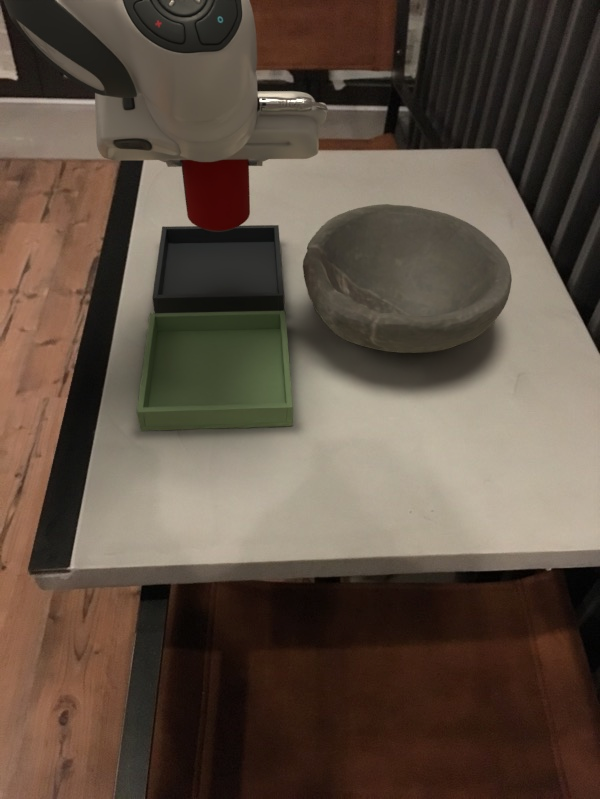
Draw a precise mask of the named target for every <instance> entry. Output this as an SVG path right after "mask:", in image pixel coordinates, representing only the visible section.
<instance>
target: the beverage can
mask: <svg viewBox="0 0 600 799" xmlns="http://www.w3.org/2000/svg"><path fill="white" fill-rule="evenodd" d="M181 164H182V167H181V172H182V173H181V174H182V183H183V190H184V200H185V205H186V206H185V207H186V215H187V219H188V220H189V222H191V224H193V226H198V227H200V228H203V229H205V230H208V231H213V232H223V231H228V230H231V229H234V228H236V227H237V226H242V225H244V223H246V222H247V220H248V219H249V218H250V214H251V201H250V198H251V197H250V194H251V192H250V166H248V159H234V160H219V161H214V162H198V161H193V160H181Z"/></svg>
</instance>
